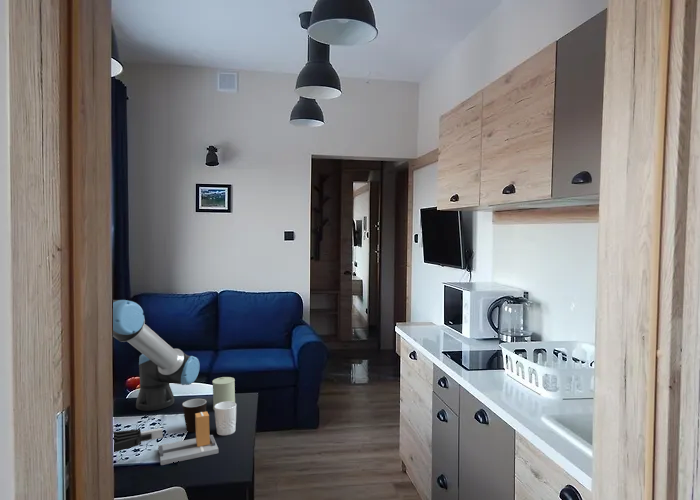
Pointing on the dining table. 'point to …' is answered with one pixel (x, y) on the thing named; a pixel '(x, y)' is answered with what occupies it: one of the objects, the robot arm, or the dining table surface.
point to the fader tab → (202, 428)
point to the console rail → (185, 450)
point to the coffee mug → (193, 412)
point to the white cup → (225, 417)
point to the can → (223, 390)
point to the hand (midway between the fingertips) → (162, 432)
